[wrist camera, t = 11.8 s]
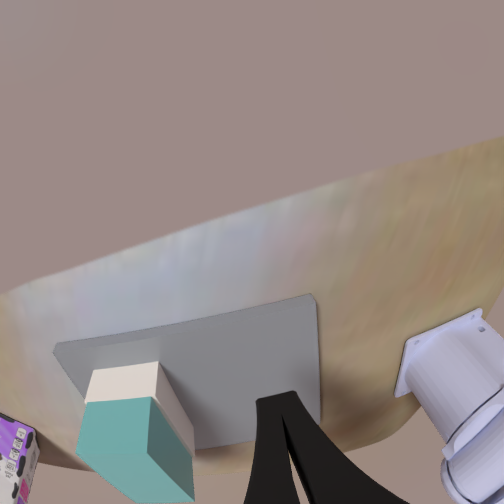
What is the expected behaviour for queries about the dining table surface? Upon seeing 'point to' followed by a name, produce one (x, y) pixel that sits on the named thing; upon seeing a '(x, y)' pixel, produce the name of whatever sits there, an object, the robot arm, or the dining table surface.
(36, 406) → the dining table surface
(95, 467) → the teal brick
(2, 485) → the candy box
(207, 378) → the baseplate
